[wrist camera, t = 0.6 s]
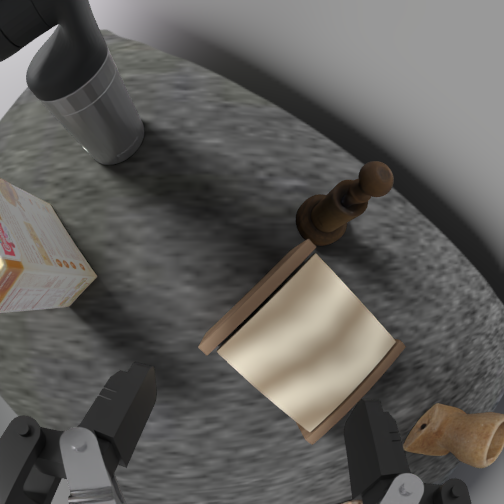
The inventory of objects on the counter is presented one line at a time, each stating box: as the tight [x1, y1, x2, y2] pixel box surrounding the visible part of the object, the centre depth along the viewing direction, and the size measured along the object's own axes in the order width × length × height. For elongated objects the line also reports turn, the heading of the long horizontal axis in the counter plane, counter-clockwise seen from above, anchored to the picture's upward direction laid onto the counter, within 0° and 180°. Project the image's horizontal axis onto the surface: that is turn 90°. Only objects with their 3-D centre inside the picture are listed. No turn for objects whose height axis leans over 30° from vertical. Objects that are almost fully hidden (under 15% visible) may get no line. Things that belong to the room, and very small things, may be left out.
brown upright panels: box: [199, 239, 406, 445], centre depth 32 cm, size 17×16×8 cm
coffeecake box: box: [0, 178, 97, 313], centre depth 25 cm, size 15×7×20 cm, turn 43°
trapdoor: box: [217, 254, 396, 432], centre depth 31 cm, size 14×14×6 cm
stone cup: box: [403, 403, 504, 468], centre depth 29 cm, size 15×12×15 cm
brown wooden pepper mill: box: [296, 161, 393, 246], centre depth 30 cm, size 7×6×18 cm
